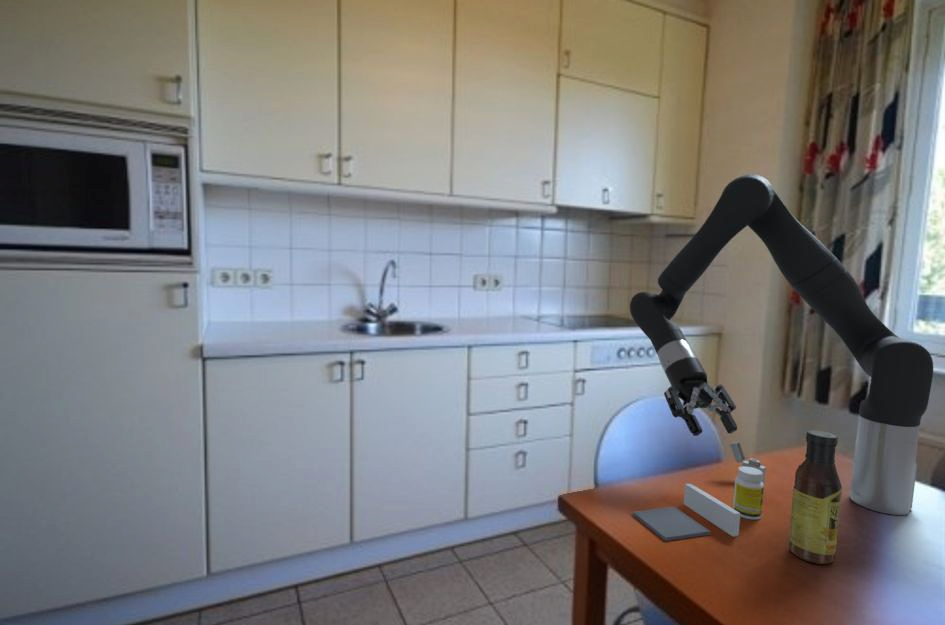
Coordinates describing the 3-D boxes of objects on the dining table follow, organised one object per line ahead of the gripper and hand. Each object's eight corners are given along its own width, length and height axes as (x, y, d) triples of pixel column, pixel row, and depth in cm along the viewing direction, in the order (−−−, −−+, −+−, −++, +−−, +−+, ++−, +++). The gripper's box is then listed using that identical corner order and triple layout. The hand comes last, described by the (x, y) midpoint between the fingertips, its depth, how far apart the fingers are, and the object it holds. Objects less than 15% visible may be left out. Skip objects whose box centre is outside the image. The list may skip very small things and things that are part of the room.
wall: (688, 503, 97) (690, 483, 96) (738, 535, 85) (740, 513, 85) (683, 504, 96) (685, 484, 96) (732, 536, 85) (734, 514, 85)
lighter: (764, 486, 106) (767, 449, 105) (760, 488, 105) (764, 451, 104) (730, 474, 112) (734, 439, 111) (726, 476, 111) (730, 441, 110)
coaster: (674, 509, 94) (674, 506, 94) (709, 534, 86) (710, 531, 85) (632, 514, 91) (633, 511, 91) (665, 541, 83) (665, 537, 83)
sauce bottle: (836, 571, 76) (849, 444, 74) (787, 558, 79) (799, 435, 77) (832, 552, 82) (845, 432, 80) (787, 539, 85) (798, 425, 83)
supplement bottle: (765, 522, 91) (769, 477, 90) (736, 518, 92) (740, 473, 91) (755, 509, 95) (759, 466, 95) (728, 506, 96) (732, 464, 96)
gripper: (662, 356, 106) (697, 426, 96) (717, 355, 110) (756, 422, 100) (645, 375, 111) (676, 443, 101) (698, 373, 116) (733, 439, 106)
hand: (716, 432), depth 101 cm, fingers open, 8 cm apart
